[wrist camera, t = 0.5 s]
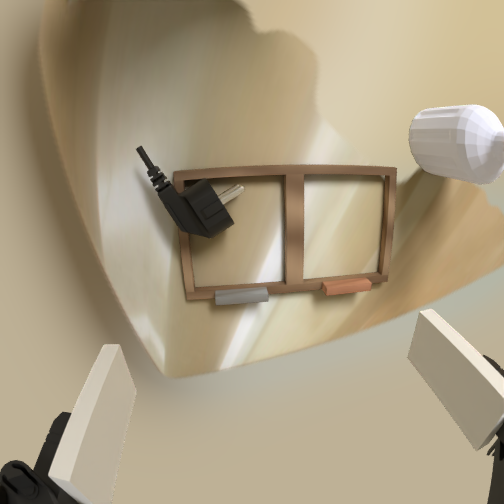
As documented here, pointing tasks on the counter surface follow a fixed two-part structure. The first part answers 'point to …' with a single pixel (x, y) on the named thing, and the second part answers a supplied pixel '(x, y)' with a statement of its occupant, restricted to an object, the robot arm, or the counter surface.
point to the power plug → (193, 203)
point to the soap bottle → (459, 143)
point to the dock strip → (291, 235)
